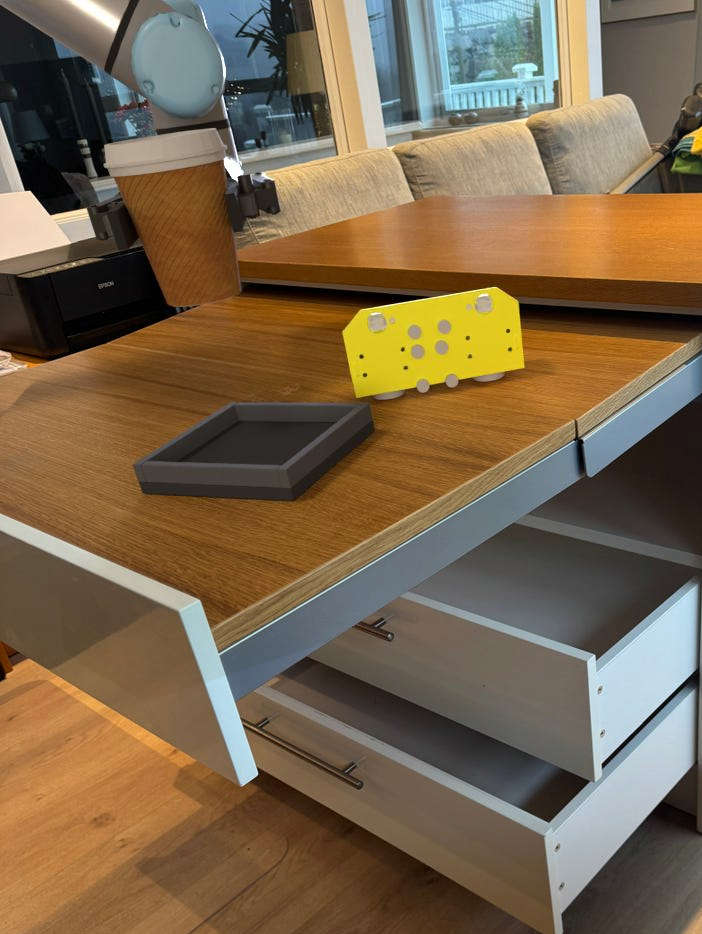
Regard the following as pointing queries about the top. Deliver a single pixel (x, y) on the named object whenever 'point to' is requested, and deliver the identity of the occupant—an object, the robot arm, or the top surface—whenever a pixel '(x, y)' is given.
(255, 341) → the top surface
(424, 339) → the yellow toy chassis
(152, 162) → the disposable coffee cup
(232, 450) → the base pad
